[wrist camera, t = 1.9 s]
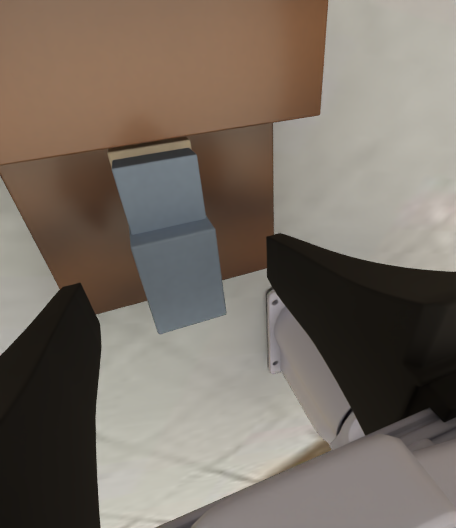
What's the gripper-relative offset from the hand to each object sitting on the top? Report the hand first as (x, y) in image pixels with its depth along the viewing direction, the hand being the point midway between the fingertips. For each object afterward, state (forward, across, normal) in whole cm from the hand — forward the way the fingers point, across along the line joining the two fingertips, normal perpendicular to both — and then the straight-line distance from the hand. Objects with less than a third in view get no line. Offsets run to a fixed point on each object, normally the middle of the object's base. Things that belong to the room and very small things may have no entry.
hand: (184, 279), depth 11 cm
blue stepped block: (+5, 0, 0) cm, 5 cm away
